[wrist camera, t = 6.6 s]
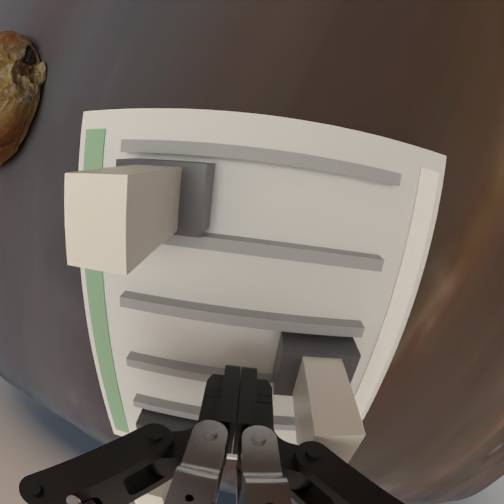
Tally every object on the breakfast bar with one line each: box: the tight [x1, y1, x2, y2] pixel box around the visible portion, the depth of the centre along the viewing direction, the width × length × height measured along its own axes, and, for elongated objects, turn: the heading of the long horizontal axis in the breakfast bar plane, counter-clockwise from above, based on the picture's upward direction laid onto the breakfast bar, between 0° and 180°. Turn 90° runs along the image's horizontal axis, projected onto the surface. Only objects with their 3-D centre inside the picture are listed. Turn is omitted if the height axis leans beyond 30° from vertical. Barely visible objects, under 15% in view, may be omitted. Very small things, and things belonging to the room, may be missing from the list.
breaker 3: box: [273, 331, 366, 464], centre depth 13 cm, size 4×3×7 cm
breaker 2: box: [134, 409, 198, 504], centre depth 15 cm, size 4×3×7 cm
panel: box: [78, 108, 447, 460], centre depth 17 cm, size 19×24×2 cm
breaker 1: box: [64, 158, 215, 276], centre depth 10 cm, size 4×3×7 cm
